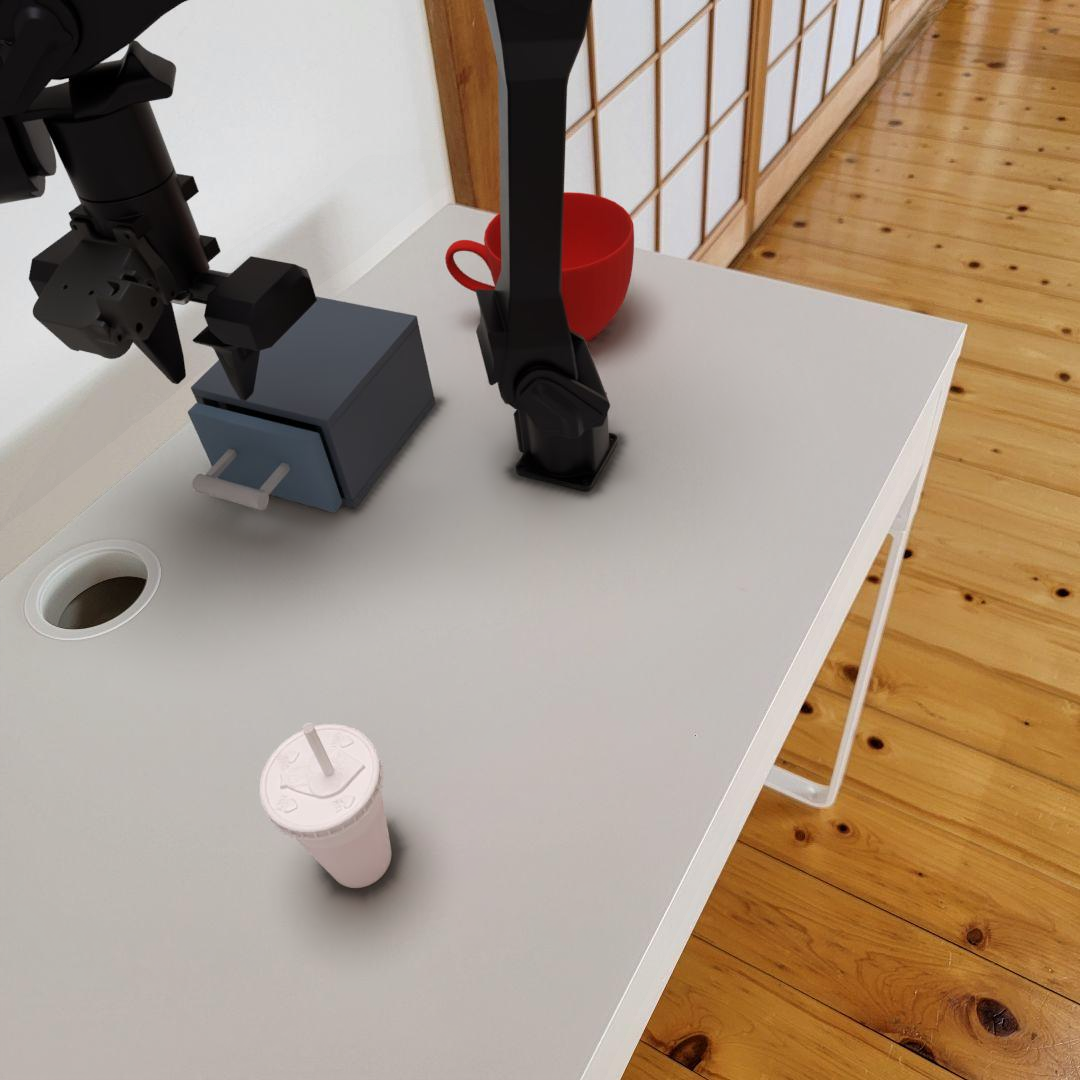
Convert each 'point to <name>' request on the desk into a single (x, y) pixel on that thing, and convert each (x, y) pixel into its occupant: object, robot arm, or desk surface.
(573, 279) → the ceramic cup
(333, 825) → the smoothie
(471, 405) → the desk surface
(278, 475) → the drawer
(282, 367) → the dispenser
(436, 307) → the desk surface
